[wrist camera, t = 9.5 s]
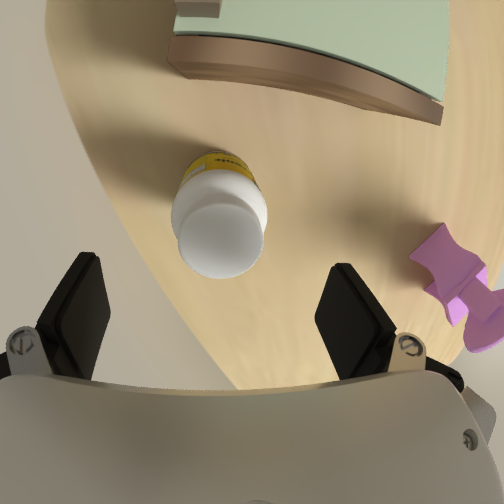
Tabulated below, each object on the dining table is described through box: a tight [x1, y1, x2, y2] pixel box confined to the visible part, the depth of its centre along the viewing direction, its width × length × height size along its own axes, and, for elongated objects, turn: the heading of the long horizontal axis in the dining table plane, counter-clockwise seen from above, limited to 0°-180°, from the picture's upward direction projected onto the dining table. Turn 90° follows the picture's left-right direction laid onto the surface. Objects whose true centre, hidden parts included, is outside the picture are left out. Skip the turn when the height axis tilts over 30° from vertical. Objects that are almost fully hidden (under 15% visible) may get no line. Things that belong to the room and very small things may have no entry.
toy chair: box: [409, 223, 504, 353], centre depth 22 cm, size 8×9×15 cm
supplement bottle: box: [171, 151, 267, 279], centre depth 16 cm, size 5×5×10 cm
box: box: [167, 35, 444, 126], centre depth 10 cm, size 14×12×9 cm
